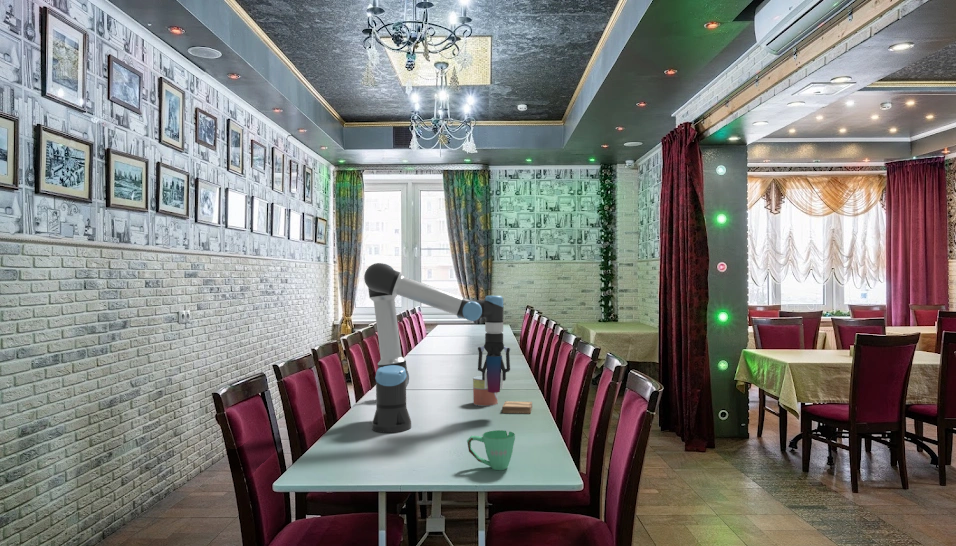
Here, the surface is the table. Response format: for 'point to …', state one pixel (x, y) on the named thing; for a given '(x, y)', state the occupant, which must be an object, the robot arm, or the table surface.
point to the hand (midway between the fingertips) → (493, 388)
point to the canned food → (482, 393)
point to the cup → (493, 373)
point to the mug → (495, 448)
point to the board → (517, 407)
